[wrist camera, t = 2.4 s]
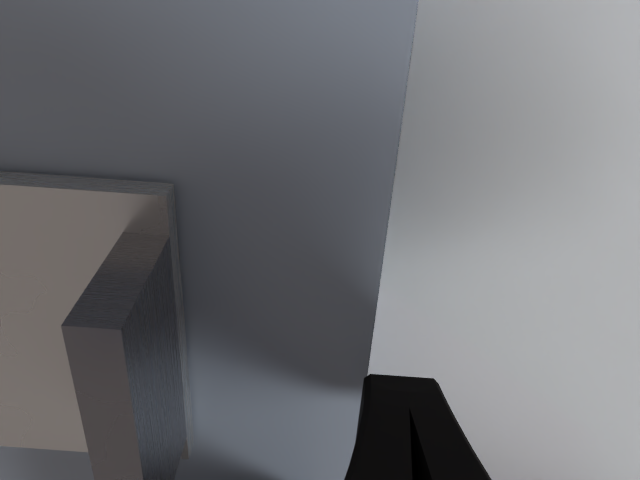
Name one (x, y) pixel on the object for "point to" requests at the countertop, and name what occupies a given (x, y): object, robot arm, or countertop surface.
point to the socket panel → (232, 196)
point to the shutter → (93, 323)
